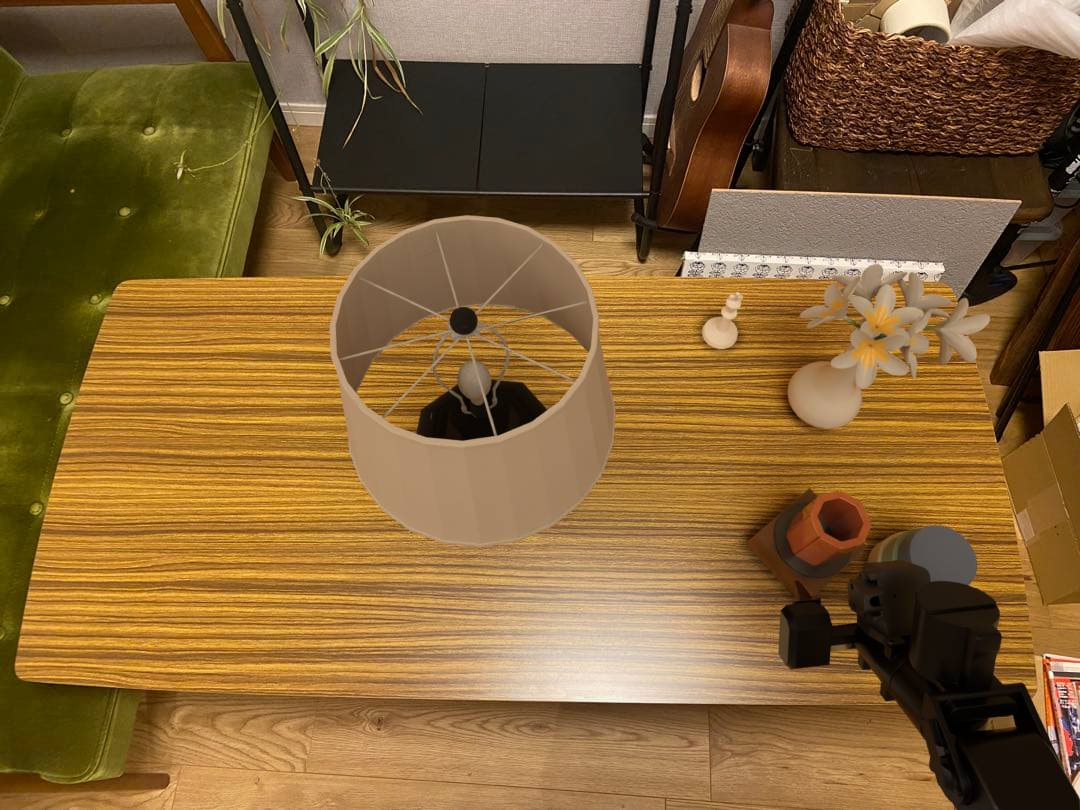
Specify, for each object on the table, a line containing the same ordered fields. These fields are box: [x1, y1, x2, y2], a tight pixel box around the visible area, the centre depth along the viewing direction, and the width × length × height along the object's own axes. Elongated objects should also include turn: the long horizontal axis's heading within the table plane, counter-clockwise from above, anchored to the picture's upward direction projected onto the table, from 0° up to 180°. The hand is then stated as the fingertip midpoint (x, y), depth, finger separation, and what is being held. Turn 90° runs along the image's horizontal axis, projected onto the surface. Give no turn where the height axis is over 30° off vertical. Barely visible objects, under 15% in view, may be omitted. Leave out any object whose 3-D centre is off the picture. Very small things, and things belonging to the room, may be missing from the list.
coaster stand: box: [745, 487, 868, 598], centre depth 84 cm, size 9×9×6 cm
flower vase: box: [786, 263, 991, 430], centre depth 83 cm, size 13×18×25 cm
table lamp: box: [329, 214, 617, 548], centre depth 72 cm, size 27×27×40 cm
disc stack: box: [867, 524, 978, 586], centre depth 81 cm, size 9×9×9 cm
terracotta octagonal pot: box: [786, 490, 872, 566], centre depth 77 cm, size 6×6×8 cm
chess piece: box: [701, 291, 744, 350], centre depth 95 cm, size 5×5×10 cm
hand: (837, 579), depth 76 cm, fingers open, 9 cm apart
